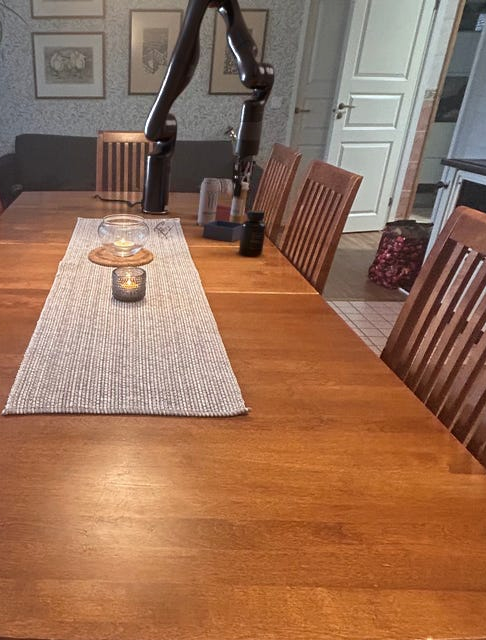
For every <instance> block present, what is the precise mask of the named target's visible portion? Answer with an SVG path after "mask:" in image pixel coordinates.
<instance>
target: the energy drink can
mask: <svg viewBox="0 0 486 640" xmlns="http://www.w3.org/2000/svg"><path fill="white" fill-rule="evenodd" d="M219 190H220V183H219V178H217V177H204V178H203V180H202V182H201V185H200V194H199V205H198V214H197V223H198V225H199V226H201V227H204V224H206V223H209V222H212V221H215V215H216V207H217V205H218V198H219Z"/></svg>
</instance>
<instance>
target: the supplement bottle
mask: <svg viewBox="0 0 486 640" xmlns="http://www.w3.org/2000/svg"><path fill="white" fill-rule="evenodd" d="M265 213H266V212H265V211H264V210H257V209H248V211H247V213H246V220H243V222H242V230H241V238H240V239H239V245H238V246H239V247H238V254H239V255H240V256H243V257H248V258H249V257H251V258H256V257H260V256H262V255H263V250H264V244H265V237H266V230H267V224H266V223H265V221H264V219H265Z"/></svg>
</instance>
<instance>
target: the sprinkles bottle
mask: <svg viewBox="0 0 486 640" xmlns="http://www.w3.org/2000/svg"><path fill="white" fill-rule="evenodd" d="M249 185H250V182H249V183H247V182H243V183H242V190H241V196H240V197H234V194H233V196H232V201H231V202H232V203H231V207H232V208H231V217H230V222H235V223H242V224H243V222H244V215H245V211H246V210H245V208H246V202H247V201H246V200H247V195H248V190H249ZM234 188H235V184H234V186H233V189H234Z"/></svg>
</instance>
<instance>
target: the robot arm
mask: <svg viewBox="0 0 486 640" xmlns="http://www.w3.org/2000/svg"><path fill="white" fill-rule="evenodd" d="M208 9H211V10H216V11H217V12H218V13H219V15H220V17H221V18H222V20H223V22H224V25H225V40H226V43H227V46H228V48H229V51H230V53H231V54H232V56H233V58H234V61H235V62H236V67H237V73H238V77H239V81H240V83H241V85H242V86H243V87H244V88H245V89H247V90H251V91H252V90H253V91H252V93H251V94H250V95H251V96H250V97H249V98H246V99H245V100H243V102H242V105H241V109H240V116H239V117H240V118H239V123H238V126H237V132H236V139H235V146H234V154H235V155H238V158H237V161H236V162H233V163H232V177H231V178H232V179H231V180H232V181H231V183H233V184H234V185H235V188H234V187H233V195H234V197H240V196H241V190H242V183H243V182H247V183H249V184H250V181H252V180H253V176H254V172H255V169H256V165H257V160H254V156H258V155H259V151H260V146H261V140H262V134H263V122H264V116H265V109H266V105H267V103H268V101H269V99H270V95H271V92H272V90H273V87H274V84H275V79H276V72H275V67H274V65H273V64H271V63H270V62H264V61H263V62H262V61H257V57H258V54H259V47H258V45H257V43H256V41H255V39H254V37H253V35H252V33H251V30H250V29H249V27H248V24H247V23H246V20H245V17H244V16H243V13H242V9H241V6H240V4H239V1H238V0H188V2H187V6H186V10H185V13H184V17H183V20H182V23H181V26H180V30H179V32H178V36H177V38H176V42H175V44H174V47H173V50H172V52H171V54H170V57H169V61H168V63H167V67H166V69H165V73H164V76H163V78H162V81H161V83H160V85H159V89H158V91H157V93H156V96H155V98H154V101H153V102H152V105H151V107H150V109H149V111H148V114H147V116H146V119H145V121H144V126H143V134H144V137H145V139H146V140H147V141H148V142H151V143H155V147H154V148H153V150H151V151H150V152H148V153H147V155H146V168H145V181H144V183H145V184H143V185H142V196H141V199H140V201H136V202H134V203H132V202H131V201H129V200H127V199H126V200H125V199H114V198H113V199H111V198H110V199H109V198H103V197H101V196H100V194H98V193H97V194H95V195H94V196H93V198H94V199H96V198H98V199H99V200H100V201H102V202H114V203H116V202H117V203H126V204H128V205H129V206H130V207H135V206H136V205H140V208H141V212H143V213H145V214H150V215H167V214H168V213H169V210H170V205H169V201H170V188H171V187H170V186H171V178H172V177H171V175H172V163H173V158H174V157H175V153H176V145H177V139H178V120H177V118H176V116H175V115H174V114H173V113H172V112H170V111H171V108H172V107H173V105H174V103H175V102H176V100H178V98H179V96H180V95H182V93H183V92H184V91H185V90H186V88H187V87H189V85H190V83H191V82H192V80H193V77H194V75H195V73H196V71H197V68H198V65H199V63H200V59H201V28H202V24H203V21H204V18H205V15H206V13H207V10H208Z"/></svg>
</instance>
